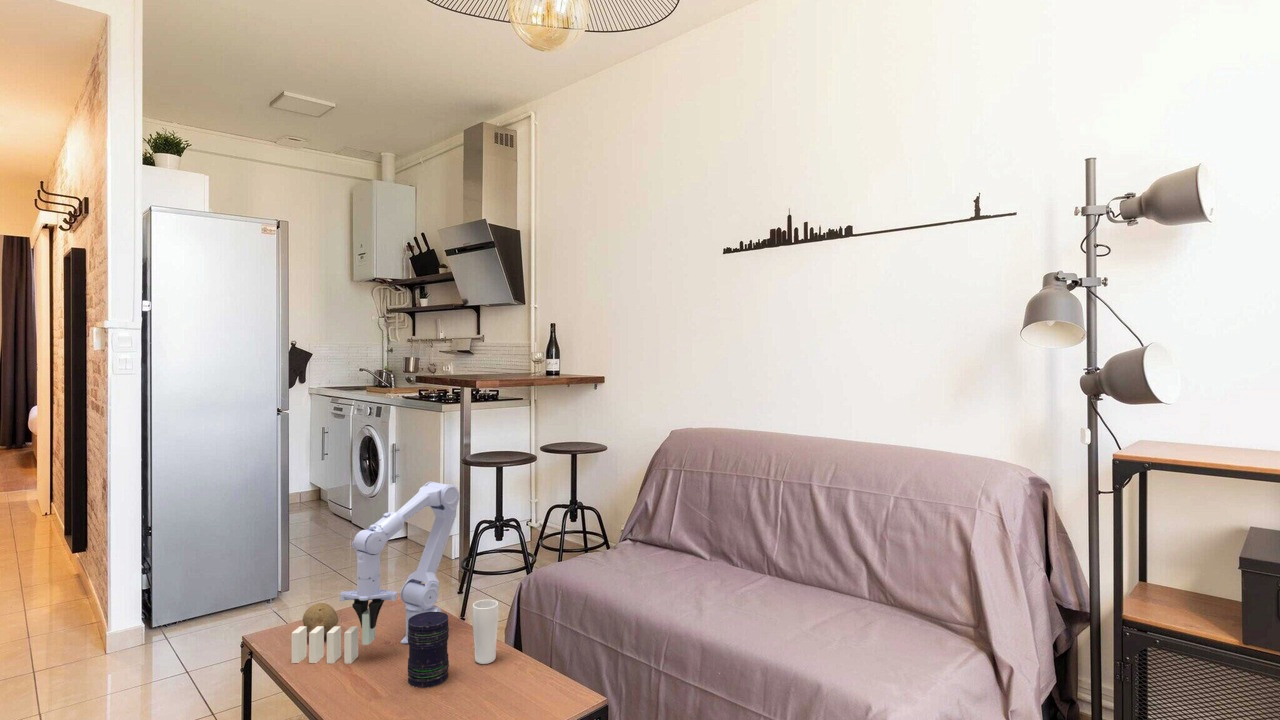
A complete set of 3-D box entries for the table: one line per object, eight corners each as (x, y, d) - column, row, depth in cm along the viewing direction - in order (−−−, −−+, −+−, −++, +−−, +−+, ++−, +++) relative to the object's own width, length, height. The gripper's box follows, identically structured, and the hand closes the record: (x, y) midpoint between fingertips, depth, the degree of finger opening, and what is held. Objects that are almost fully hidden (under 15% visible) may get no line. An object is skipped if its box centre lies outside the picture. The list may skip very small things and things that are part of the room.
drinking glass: (485, 668, 173) (485, 610, 173) (466, 662, 177) (466, 605, 177) (503, 658, 179) (503, 602, 179) (485, 652, 183) (485, 597, 183)
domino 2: (323, 656, 181) (323, 626, 181) (316, 663, 176) (316, 633, 176) (317, 656, 181) (317, 626, 181) (309, 663, 176) (309, 633, 176)
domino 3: (341, 656, 181) (341, 626, 181) (333, 663, 176) (333, 633, 176) (334, 656, 181) (334, 626, 181) (326, 663, 176) (326, 633, 176)
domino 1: (306, 656, 181) (306, 626, 181) (298, 663, 176) (298, 633, 176) (299, 656, 181) (299, 626, 181) (291, 663, 176) (291, 633, 176)
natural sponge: (330, 629, 198) (330, 595, 198) (343, 638, 192) (343, 603, 192) (298, 638, 192) (298, 603, 192) (309, 648, 185) (309, 611, 185)
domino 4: (358, 656, 181) (358, 626, 181) (351, 663, 176) (351, 633, 176) (351, 656, 181) (351, 626, 181) (344, 663, 176) (344, 633, 176)
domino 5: (375, 637, 181) (375, 608, 181) (368, 644, 176) (368, 614, 176) (368, 637, 181) (368, 608, 181) (361, 644, 176) (362, 614, 176)
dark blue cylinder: (406, 673, 171) (406, 614, 171) (446, 666, 175) (446, 609, 175) (409, 691, 162) (409, 629, 161) (451, 683, 165) (451, 623, 165)
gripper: (334, 580, 174) (334, 633, 174) (390, 581, 174) (390, 633, 174) (346, 572, 181) (346, 622, 181) (400, 572, 181) (400, 622, 181)
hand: (368, 627), depth 178 cm, fingers closed on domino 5, 2 cm apart
